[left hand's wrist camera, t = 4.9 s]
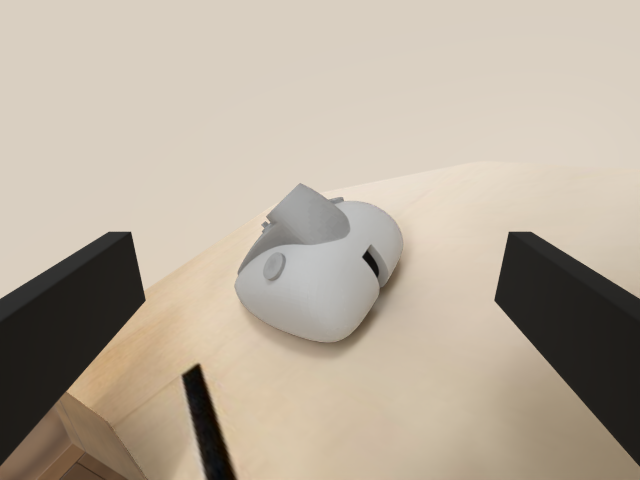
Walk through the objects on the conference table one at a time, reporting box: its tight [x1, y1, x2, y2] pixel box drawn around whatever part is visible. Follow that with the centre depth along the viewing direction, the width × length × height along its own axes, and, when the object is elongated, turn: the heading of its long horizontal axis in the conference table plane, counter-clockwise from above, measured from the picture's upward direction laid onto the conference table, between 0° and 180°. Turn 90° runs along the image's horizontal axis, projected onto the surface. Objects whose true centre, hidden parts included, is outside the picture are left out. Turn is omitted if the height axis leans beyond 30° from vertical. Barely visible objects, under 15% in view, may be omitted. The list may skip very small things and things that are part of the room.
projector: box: [235, 183, 403, 342], centre depth 40 cm, size 22×23×15 cm
